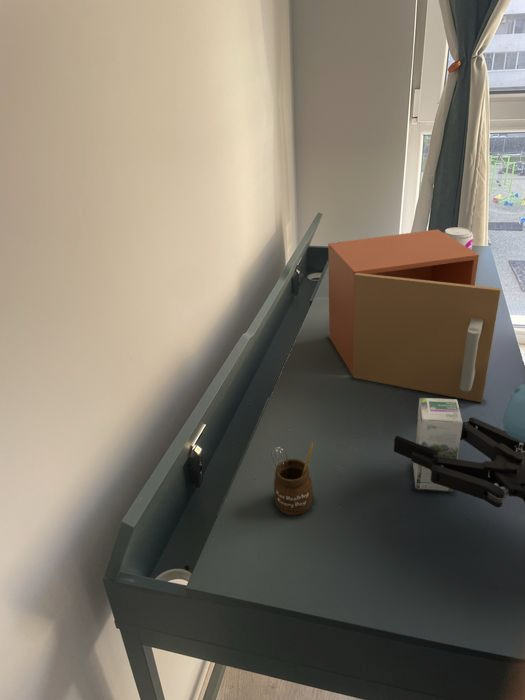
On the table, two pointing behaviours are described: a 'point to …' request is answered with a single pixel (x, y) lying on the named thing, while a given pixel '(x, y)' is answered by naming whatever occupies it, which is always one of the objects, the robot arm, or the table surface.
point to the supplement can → (461, 235)
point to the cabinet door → (424, 334)
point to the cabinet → (390, 272)
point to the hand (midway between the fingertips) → (407, 430)
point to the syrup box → (437, 436)
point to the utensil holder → (293, 485)
